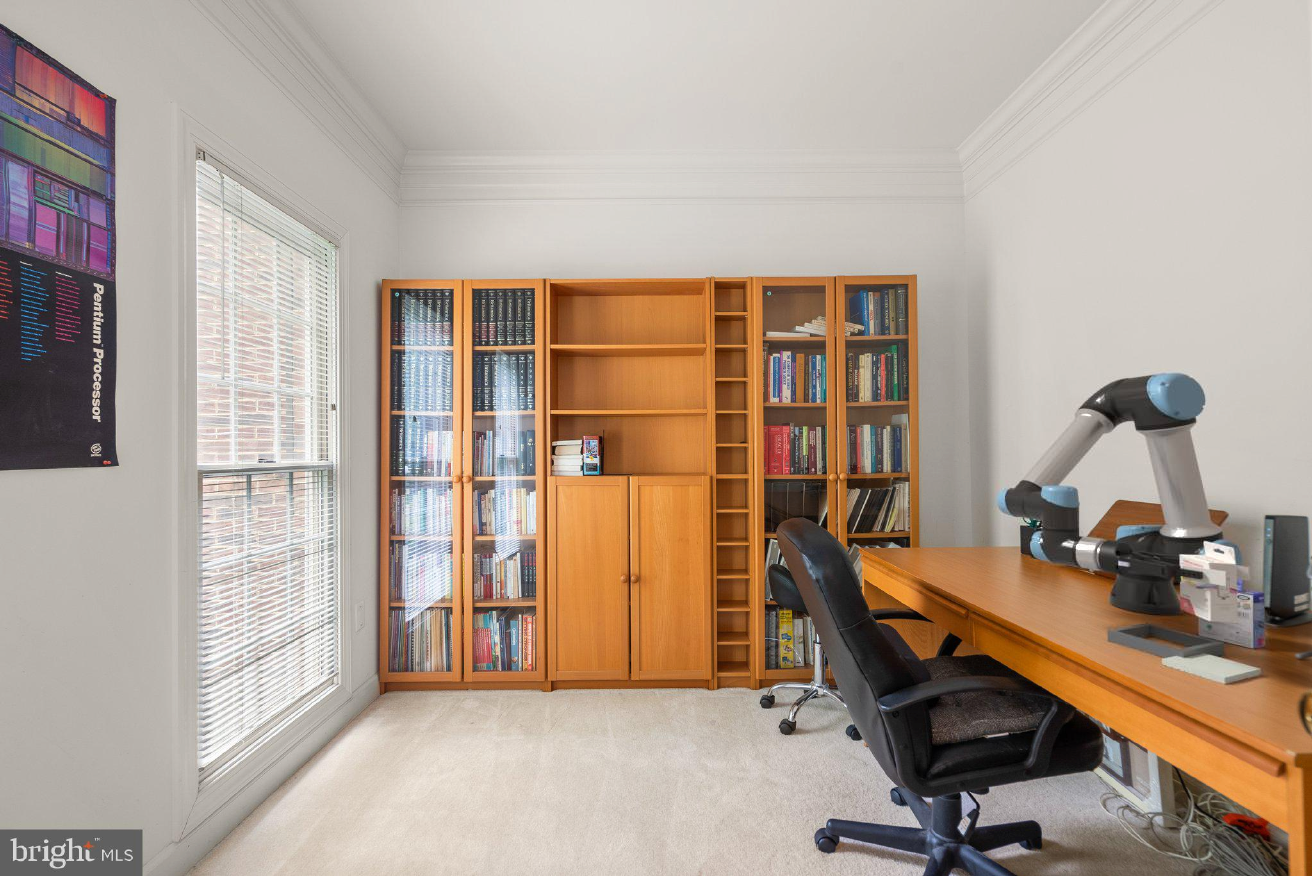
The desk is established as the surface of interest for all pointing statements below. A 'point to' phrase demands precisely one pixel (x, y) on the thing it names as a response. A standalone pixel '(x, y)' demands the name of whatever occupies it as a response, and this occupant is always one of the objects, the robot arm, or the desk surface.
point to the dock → (1133, 633)
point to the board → (1212, 667)
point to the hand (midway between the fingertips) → (1238, 576)
